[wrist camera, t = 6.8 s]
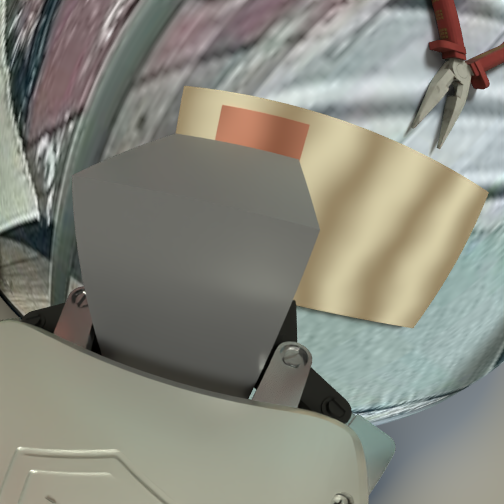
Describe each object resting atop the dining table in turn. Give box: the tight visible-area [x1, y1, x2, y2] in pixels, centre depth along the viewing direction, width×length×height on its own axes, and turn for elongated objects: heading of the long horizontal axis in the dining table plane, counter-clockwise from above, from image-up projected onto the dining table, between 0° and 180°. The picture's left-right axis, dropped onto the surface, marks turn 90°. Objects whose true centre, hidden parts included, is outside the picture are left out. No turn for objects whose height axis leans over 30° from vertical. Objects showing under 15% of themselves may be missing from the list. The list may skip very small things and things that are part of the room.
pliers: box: [412, 0, 504, 149], centre depth 11 cm, size 12×20×3 cm, turn 157°
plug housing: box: [72, 134, 320, 399], centre depth 10 cm, size 12×5×6 cm, turn 167°
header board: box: [176, 86, 489, 328], centre depth 19 cm, size 26×16×5 cm, turn 77°
